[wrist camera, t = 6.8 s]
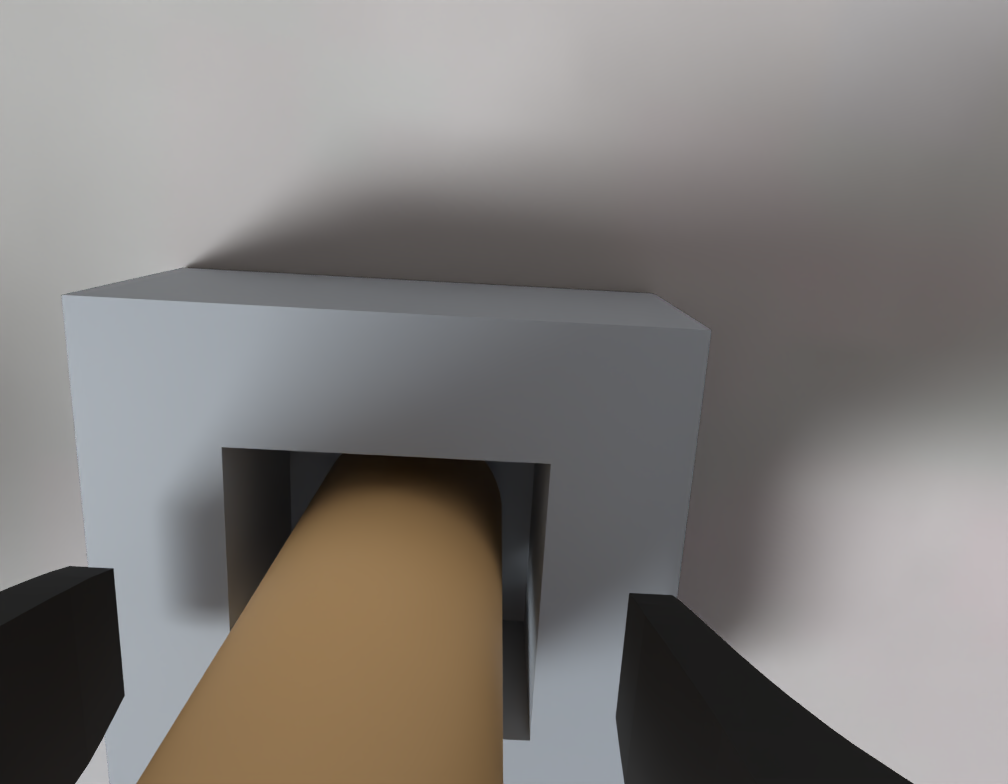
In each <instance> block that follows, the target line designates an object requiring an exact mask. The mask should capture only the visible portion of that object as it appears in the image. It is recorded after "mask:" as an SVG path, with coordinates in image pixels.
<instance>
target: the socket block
mask: <svg viewBox="0 0 1008 784" xmlns="http://www.w3.org/2000/svg"><path fill="white" fill-rule="evenodd" d="M61 296H62V306H63V316H64V326H65V336H66V347H67V357H68V367H69V377H70V387H71V397H72V408H73V418H74V428H75V438H76V448H77V458H78V469H79V479H80V489H81V499H82V509H83V519H84V530H85V540H86V550H87V560H88V567H96V568H114V579H115V590H116V601H117V613H118V624H119V635H120V646H121V658H122V669H123V680H124V691H125V696H124V698H123V700H122V702H121V704H120V706H119V708H118V710H117V712H116V714H115V716H114V718H113V720H112V722H111V724H110V726H109V728H108V730H107V731H106V733H105V743H106V753H107V763H108V773H109V784H136V783H137V782H138V780H139V778H140V777H141V775H142V773H143V772H144V770H145V769H146V767H147V765H148V764H149V762H150V761H151V759H152V757H153V756H154V754H155V752H156V751H157V749H158V748H159V746H160V744H161V743H162V741H163V739H164V738H165V736H166V735H167V733H168V731H169V730H170V728H171V727H172V725H173V723H174V722H175V720H176V718H177V717H178V715H179V714H180V712H181V710H182V709H183V707H184V706H185V704H186V702H187V701H188V699H189V697H190V696H191V694H192V693H193V691H194V689H195V688H196V686H197V684H198V683H199V681H200V680H201V678H202V676H203V675H204V673H205V672H206V670H207V668H208V667H209V665H210V663H211V662H212V660H213V659H214V657H215V655H216V654H217V652H218V651H219V649H220V647H221V646H222V644H223V642H224V641H225V639H226V638H227V636H228V634H229V633H230V631H231V629H232V628H233V626H234V625H235V623H236V621H237V620H238V618H239V617H240V615H241V613H242V612H243V610H244V608H245V607H246V605H247V604H248V602H249V600H250V599H251V597H252V596H253V594H254V592H255V591H256V589H257V587H258V586H259V584H260V583H261V581H262V579H263V578H264V576H265V574H266V573H267V571H268V570H269V568H270V566H271V565H272V563H273V562H274V560H275V558H276V557H277V555H278V553H279V552H280V550H281V549H282V547H283V545H284V544H285V542H286V541H287V539H288V537H289V536H290V534H291V532H292V531H293V529H294V528H295V526H296V524H297V523H298V521H299V519H300V518H301V516H302V515H303V513H304V511H305V510H306V508H307V507H308V505H309V503H310V502H311V500H312V498H313V497H314V495H315V494H316V492H317V490H318V489H319V487H320V486H321V484H322V482H323V481H324V479H325V477H326V476H327V474H328V473H329V471H330V469H331V468H332V466H333V464H334V463H335V462H336V460H337V459H338V458H339V456H340V455H341V454H342V453H347V454H366V455H386V456H406V457H426V458H445V459H465V460H484V461H485V462H486V463H487V465H488V466H489V468H490V470H491V471H492V473H493V475H494V477H495V480H496V482H497V485H498V488H499V491H500V496H501V503H502V646H503V784H624V777H623V770H622V763H621V757H620V749H619V741H618V733H617V725H616V718H615V717H616V708H617V699H618V690H619V681H620V672H621V663H622V654H623V644H624V635H625V626H626V617H627V608H628V599H629V593H641V594H662V595H673V596H674V597H676V598H677V595H678V588H679V580H680V572H681V564H682V556H683V549H684V541H685V533H686V525H687V518H688V510H689V502H690V494H691V486H692V479H693V471H694V463H695V455H696V448H697V440H698V432H699V424H700V416H701V409H702V401H703V393H704V385H705V378H706V370H707V362H708V354H709V346H710V339H711V331H712V330H711V329H709V328H708V327H706V326H704V325H703V324H701V323H700V322H698V321H697V320H695V319H693V318H692V317H690V316H689V315H687V314H686V313H684V312H682V311H681V310H679V309H678V308H676V307H675V306H673V305H671V304H670V303H668V302H667V301H665V300H664V299H662V298H660V297H659V296H657V295H656V294H652V293H634V292H616V291H598V290H579V289H561V288H543V287H525V286H507V285H488V284H470V283H452V282H434V281H415V280H397V279H379V278H361V277H342V276H324V275H306V274H288V273H270V272H251V271H233V270H215V269H197V268H179V269H175V270H170V271H166V272H161V273H157V274H153V275H148V276H144V277H139V278H135V279H130V280H126V281H121V282H117V283H112V284H108V285H103V286H99V287H95V288H90V289H86V290H81V291H77V292H72V293H68V294H63V295H61Z"/></svg>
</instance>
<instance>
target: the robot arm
mask: <svg viewBox="0 0 1008 784" xmlns="http://www.w3.org/2000/svg"><path fill="white" fill-rule="evenodd" d="M124 696H125V691H124V680H123V669H122V658H121V646H120V635H119V624H118V613H117V601H116V590H115V579H114V568H96V567H75V566H69V567H65V568H62V569H59V570H55V571H52V572H49V573H46V574H44V575H41V576H38V577H35V578H33V579H30V580H28V581H25V582H23V583H20V584H18V585H15V586H13V587H10V588H8V589H5V590H3V591H0V784H75V783H76V781H77V780H78V779H79V777H80V776H81V774H82V773H83V771H84V770H85V768H86V767H87V765H88V764H89V762H90V760H91V759H92V757H93V755H94V753H95V751H96V750H97V748H98V746H99V744H100V742H101V741H102V739H103V737H104V735H105V733H106V731H107V730H108V728H109V726H110V724H111V722H112V720H113V718H114V716H115V714H116V712H117V710H118V708H119V706H120V704H121V702H122V700H123V698H124ZM615 718H616V725H617V733H618V741H619V749H620V757H621V763H622V770H623V777H624V784H913V783H912V782H910V781H908V780H907V779H905V778H904V777H902V776H901V775H899V774H898V773H896V772H895V771H893V770H892V769H890V768H889V767H887V766H886V765H884V764H883V763H881V762H879V761H878V760H876V759H875V758H873V757H872V756H870V755H869V754H867V753H866V752H864V751H863V750H861V749H860V748H858V747H857V746H855V745H854V744H852V743H851V742H850V741H848V740H847V739H845V738H844V737H843V736H841V735H840V734H838V733H837V732H835V731H834V730H833V729H831V728H830V727H829V726H827V725H826V724H825V723H823V722H822V721H821V720H819V719H818V718H817V717H816V716H814V715H813V714H812V713H810V712H809V711H808V710H806V709H805V708H804V707H803V706H801V705H800V704H799V703H797V702H796V701H795V700H793V699H792V698H791V697H790V696H788V695H787V694H786V693H785V692H783V691H782V690H781V689H780V688H779V687H777V686H776V685H775V684H774V683H772V682H771V681H770V680H769V679H768V678H766V677H765V676H764V675H763V674H762V673H760V672H759V671H758V670H757V669H756V668H755V667H753V666H752V665H751V664H750V663H749V662H748V661H747V660H745V659H744V658H743V657H742V656H741V655H740V654H739V653H737V652H736V651H735V650H734V649H733V648H732V647H731V646H730V645H728V644H727V643H726V642H725V641H724V640H723V639H722V638H721V637H720V636H718V635H717V634H716V633H715V632H714V631H713V630H712V629H711V628H710V627H708V626H707V625H706V624H705V623H704V622H703V621H702V620H701V619H700V618H699V617H697V616H696V615H695V614H694V613H693V612H692V611H691V610H690V609H689V608H687V607H686V606H685V605H684V604H683V603H682V602H681V601H679V600H678V599H677V598H676V597H674V596H673V595H662V594H641V593H629V599H628V608H627V617H626V626H625V635H624V644H623V654H622V663H621V672H620V681H619V690H618V699H617V708H616V717H615Z"/></svg>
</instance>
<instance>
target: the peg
mask: <svg viewBox="0 0 1008 784" xmlns="http://www.w3.org/2000/svg"><path fill="white" fill-rule="evenodd" d="M136 784H503V646H502V503H501V496H500V491H499V488H498V485H497V482H496V480H495V477H494V475H493V473H492V471H491V470H490V468H489V466H488V465H487V463H486V462H485V461H484V460H465V459H445V458H426V457H406V456H386V455H366V454H347V453H342V454H341V455H340V456H339V458H338V459H337V460H336V462H335V463H334V464H333V466H332V468H331V469H330V471H329V473H328V474H327V476H326V477H325V479H324V481H323V482H322V484H321V486H320V487H319V489H318V490H317V492H316V494H315V495H314V497H313V498H312V500H311V502H310V503H309V505H308V507H307V508H306V510H305V511H304V513H303V515H302V516H301V518H300V519H299V521H298V523H297V524H296V526H295V528H294V529H293V531H292V532H291V534H290V536H289V537H288V539H287V541H286V542H285V544H284V545H283V547H282V549H281V550H280V552H279V553H278V555H277V557H276V558H275V560H274V562H273V563H272V565H271V566H270V568H269V570H268V571H267V573H266V574H265V576H264V578H263V579H262V581H261V583H260V584H259V586H258V587H257V589H256V591H255V592H254V594H253V596H252V597H251V599H250V600H249V602H248V604H247V605H246V607H245V608H244V610H243V612H242V613H241V615H240V617H239V618H238V620H237V621H236V623H235V625H234V626H233V628H232V629H231V631H230V633H229V634H228V636H227V638H226V639H225V641H224V642H223V644H222V646H221V647H220V649H219V651H218V652H217V654H216V655H215V657H214V659H213V660H212V662H211V663H210V665H209V667H208V668H207V670H206V672H205V673H204V675H203V676H202V678H201V680H200V681H199V683H198V684H197V686H196V688H195V689H194V691H193V693H192V694H191V696H190V697H189V699H188V701H187V702H186V704H185V706H184V707H183V709H182V710H181V712H180V714H179V715H178V717H177V718H176V720H175V722H174V723H173V725H172V727H171V728H170V730H169V731H168V733H167V735H166V736H165V738H164V739H163V741H162V743H161V744H160V746H159V748H158V749H157V751H156V752H155V754H154V756H153V757H152V759H151V761H150V762H149V764H148V765H147V767H146V769H145V770H144V772H143V773H142V775H141V777H140V778H139V780H138V782H137V783H136Z"/></svg>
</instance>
